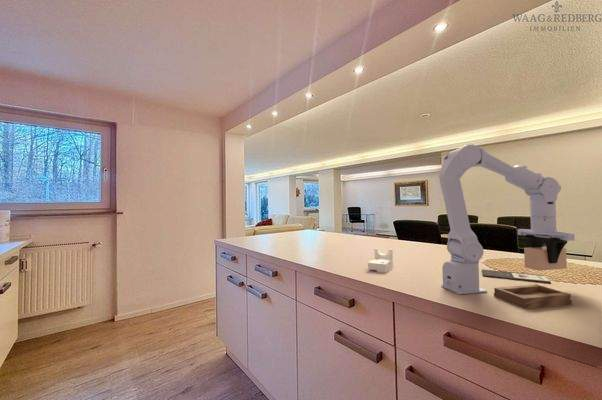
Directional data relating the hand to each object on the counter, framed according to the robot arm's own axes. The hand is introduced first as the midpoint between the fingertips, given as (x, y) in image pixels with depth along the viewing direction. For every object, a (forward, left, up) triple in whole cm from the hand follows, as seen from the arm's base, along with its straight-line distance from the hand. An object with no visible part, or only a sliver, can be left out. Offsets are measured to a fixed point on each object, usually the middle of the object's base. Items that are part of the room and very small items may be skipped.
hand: (544, 261), depth 79 cm
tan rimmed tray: (-13, -7, -8) cm, 17 cm away
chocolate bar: (+3, +13, -9) cm, 16 cm away
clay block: (0, 0, -2) cm, 2 cm away
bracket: (-36, +36, -9) cm, 51 cm away
